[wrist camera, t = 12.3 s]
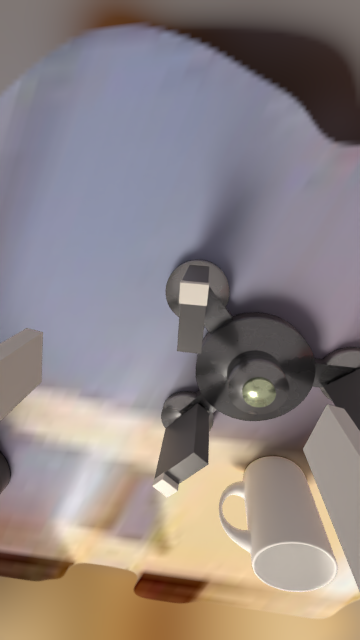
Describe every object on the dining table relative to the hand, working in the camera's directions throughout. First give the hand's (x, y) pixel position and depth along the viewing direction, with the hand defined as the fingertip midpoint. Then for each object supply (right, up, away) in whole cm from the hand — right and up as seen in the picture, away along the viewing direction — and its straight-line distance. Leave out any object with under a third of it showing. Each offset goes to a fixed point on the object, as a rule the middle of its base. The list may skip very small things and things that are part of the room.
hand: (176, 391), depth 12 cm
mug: (+12, -19, +26) cm, 34 cm away
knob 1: (+2, +6, +16) cm, 17 cm away
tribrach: (+11, -2, +19) cm, 22 cm away
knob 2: (+1, -10, +22) cm, 24 cm away
